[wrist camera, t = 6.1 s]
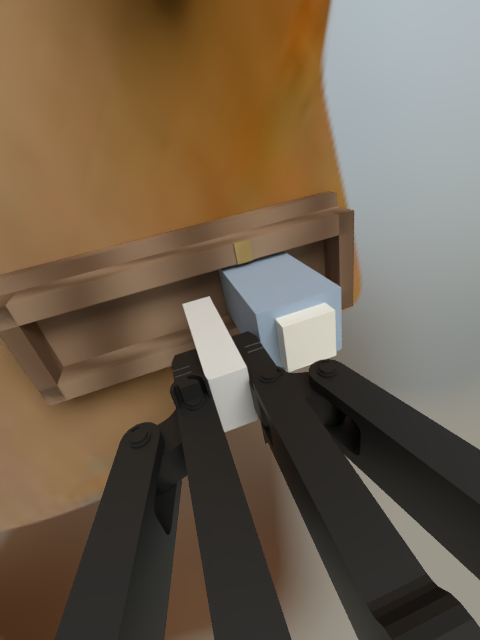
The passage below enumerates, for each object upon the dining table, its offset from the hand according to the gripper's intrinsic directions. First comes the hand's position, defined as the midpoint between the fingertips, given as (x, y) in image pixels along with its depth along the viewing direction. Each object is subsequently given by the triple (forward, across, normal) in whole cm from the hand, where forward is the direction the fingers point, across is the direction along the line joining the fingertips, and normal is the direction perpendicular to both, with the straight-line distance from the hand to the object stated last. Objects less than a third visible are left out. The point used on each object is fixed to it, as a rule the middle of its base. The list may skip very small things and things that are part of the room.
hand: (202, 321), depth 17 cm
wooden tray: (+4, 0, 0) cm, 4 cm away
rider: (+3, +4, 0) cm, 5 cm away
